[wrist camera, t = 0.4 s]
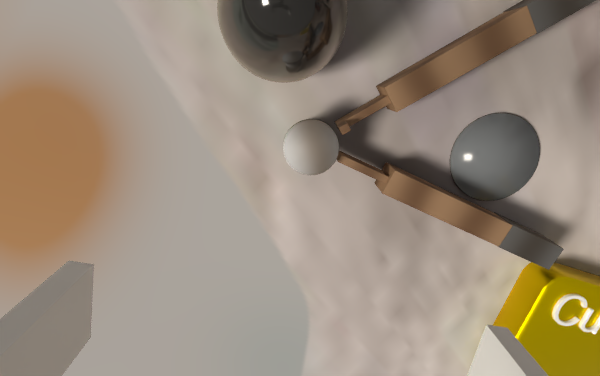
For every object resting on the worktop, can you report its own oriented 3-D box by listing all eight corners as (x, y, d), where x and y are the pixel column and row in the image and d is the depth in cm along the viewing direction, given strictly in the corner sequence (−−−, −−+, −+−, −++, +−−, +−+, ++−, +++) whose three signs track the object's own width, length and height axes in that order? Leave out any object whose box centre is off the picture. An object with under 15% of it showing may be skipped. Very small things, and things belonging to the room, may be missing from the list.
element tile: (470, 360, 47) (490, 391, 43) (528, 253, 43) (556, 274, 39) (577, 388, 49) (607, 421, 44) (642, 288, 45) (683, 313, 40)
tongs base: (284, 147, 39) (283, 155, 35) (299, 113, 38) (300, 118, 34) (521, 255, 43) (545, 274, 39) (540, 228, 42) (567, 244, 38)
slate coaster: (464, 105, 38) (466, 105, 38) (550, 121, 39) (552, 122, 38) (439, 192, 40) (440, 193, 40) (520, 205, 41) (522, 206, 41)
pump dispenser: (352, 65, 37) (393, 61, 22) (246, 93, 37) (217, 106, 22) (328, -54, 34) (357, -151, 19) (213, -22, 34) (156, -93, 20)
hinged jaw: (299, 171, 39) (300, 184, 34) (274, 130, 38) (272, 138, 33) (579, 14, 35) (622, 5, 31) (562, -38, 34) (604, -55, 29)
